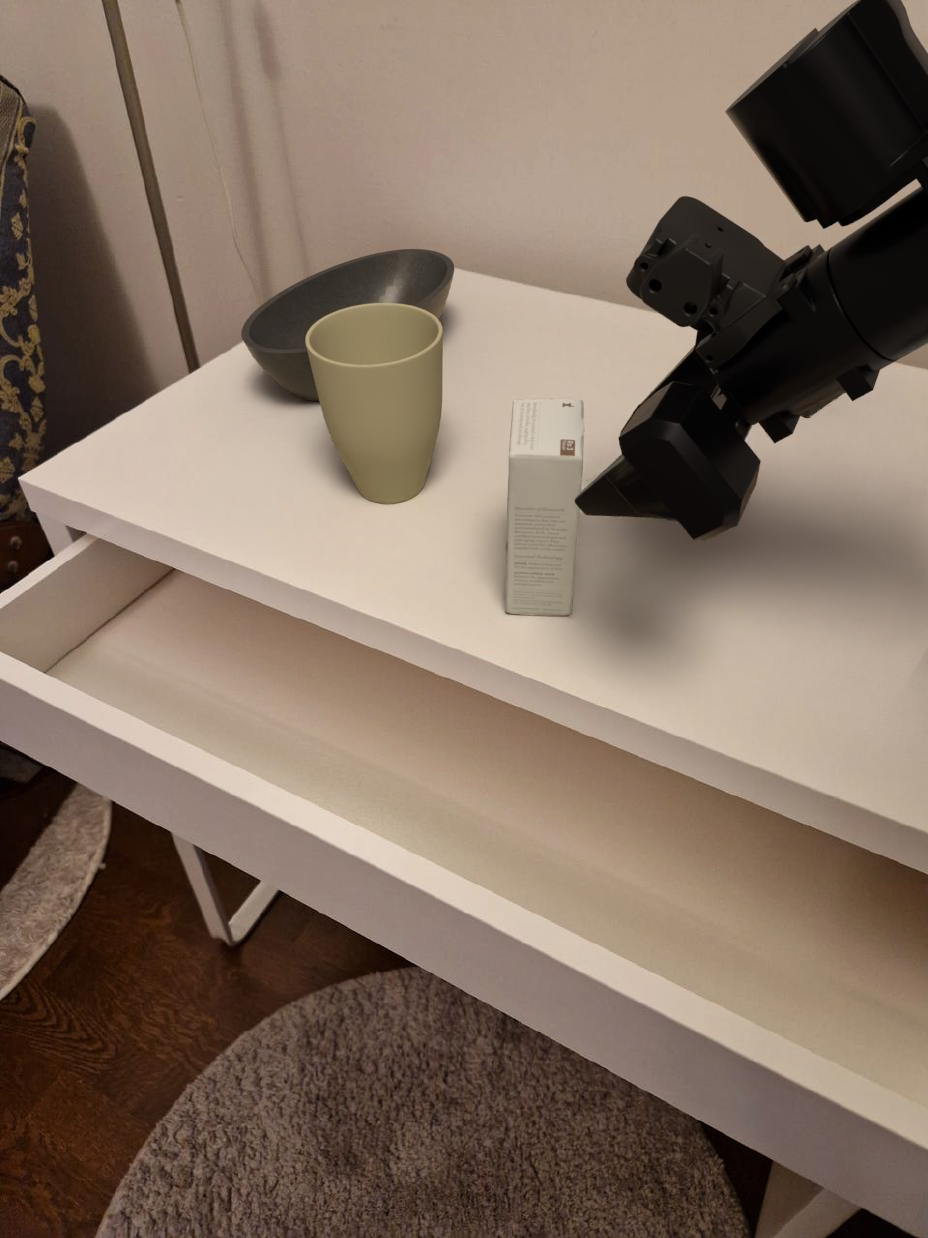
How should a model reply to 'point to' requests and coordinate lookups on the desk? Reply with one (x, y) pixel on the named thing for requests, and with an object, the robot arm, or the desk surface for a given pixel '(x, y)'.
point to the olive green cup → (380, 393)
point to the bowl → (340, 307)
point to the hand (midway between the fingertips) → (610, 460)
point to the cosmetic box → (543, 505)
